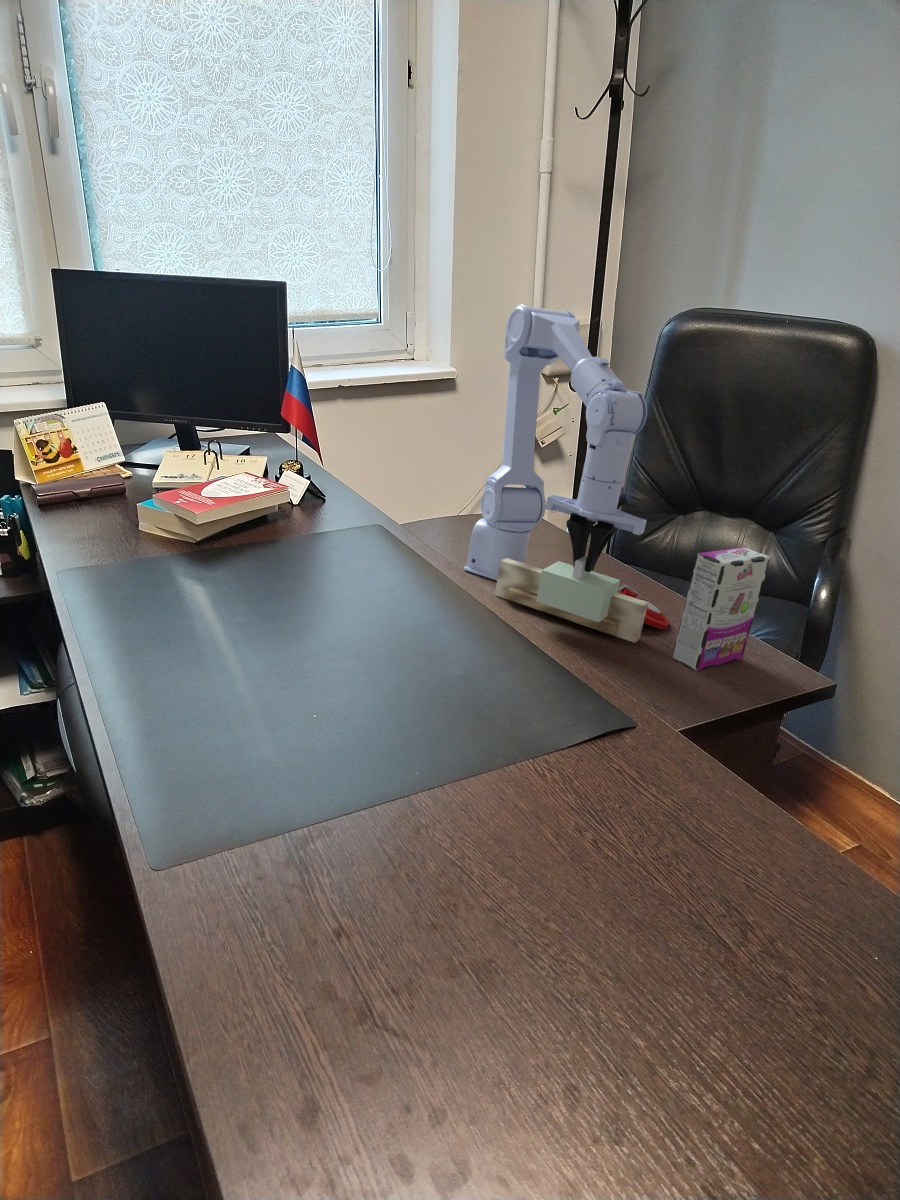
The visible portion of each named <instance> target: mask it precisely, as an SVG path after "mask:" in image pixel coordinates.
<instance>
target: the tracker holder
mask: <svg viewBox="0 0 900 1200" xmlns="http://www.w3.org/2000/svg"><path fill="white" fill-rule="evenodd" d="M618 592H619V593H620V594H623V595H626V596H629V597H632V598H636V599H639V600H642V601H645V602H648V606H647V610H646V614H645V619H644V623H643V624H646V625H648V626H650V627H653V628H656V629H658V630H663V631H664V630H666V629H668V627H669V625H670V621H669V620H668V618H667V617H666V616H665V615H664V613H663V612H662V611H661V609H660V608H659V607H658V606H657V605H655V604H653V603H652V602H650V601H649V600H645V598H644V599H643V598H638V596H639V595H640V593H639V592H637V591H636V590H635V589H634V588H632V587H630V586H628V585H627V584H623V585H622V586H621V587H619V588H618Z"/></svg>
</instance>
